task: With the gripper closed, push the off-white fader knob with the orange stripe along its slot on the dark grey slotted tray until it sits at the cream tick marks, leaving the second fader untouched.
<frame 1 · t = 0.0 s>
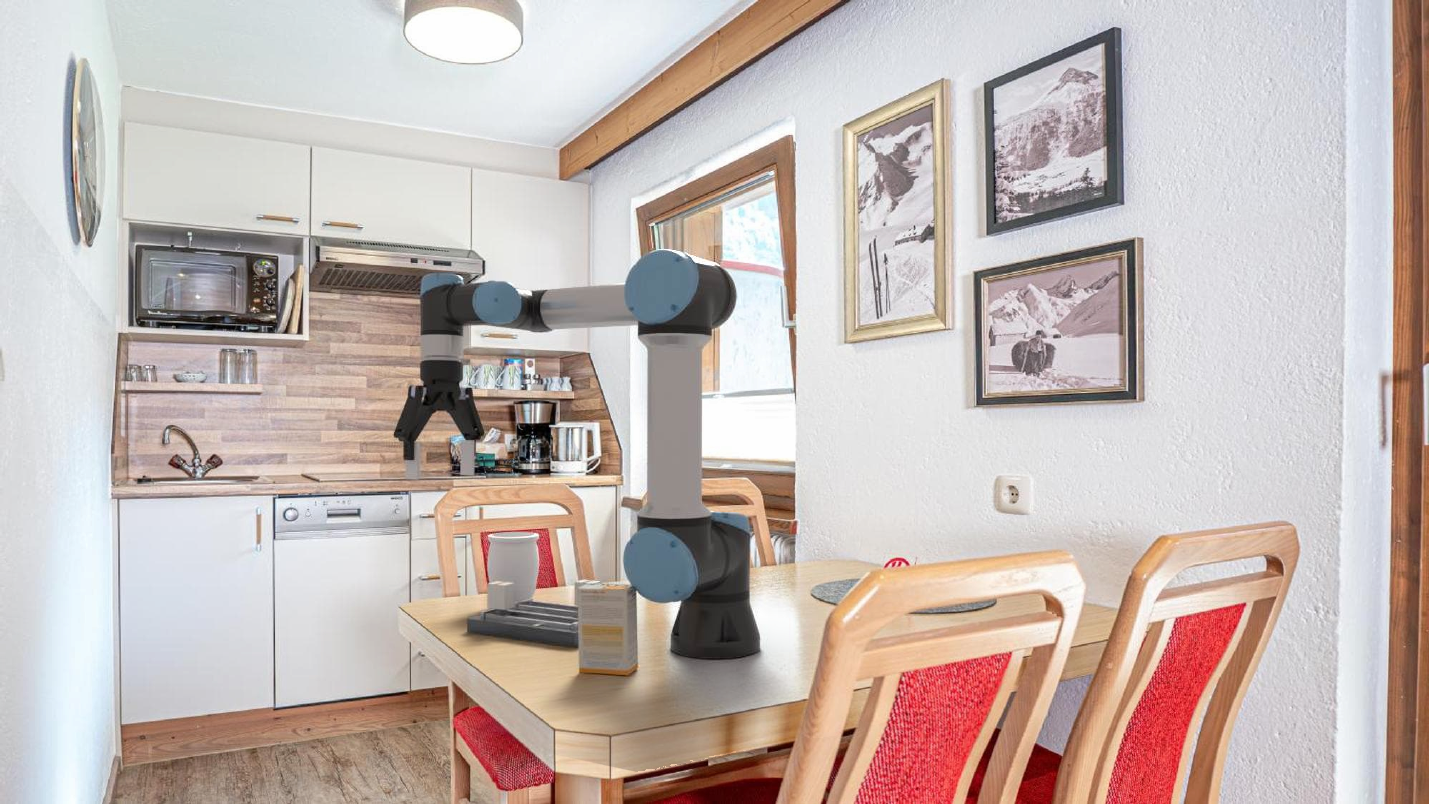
hand: (440, 477, 169), 28 cm above the table, fingers open, 13 cm apart
fader B: (588, 596, 173), point 6 cm above the table, slide at 0.0 cm
supplement box: (608, 672, 143), on the table, touching arm
dark grey slotted tray: (551, 629, 171), on the table
fader A: (500, 598, 171), point 6 cm above the table, slide at 0.0 cm
jar: (513, 609, 190), on the table
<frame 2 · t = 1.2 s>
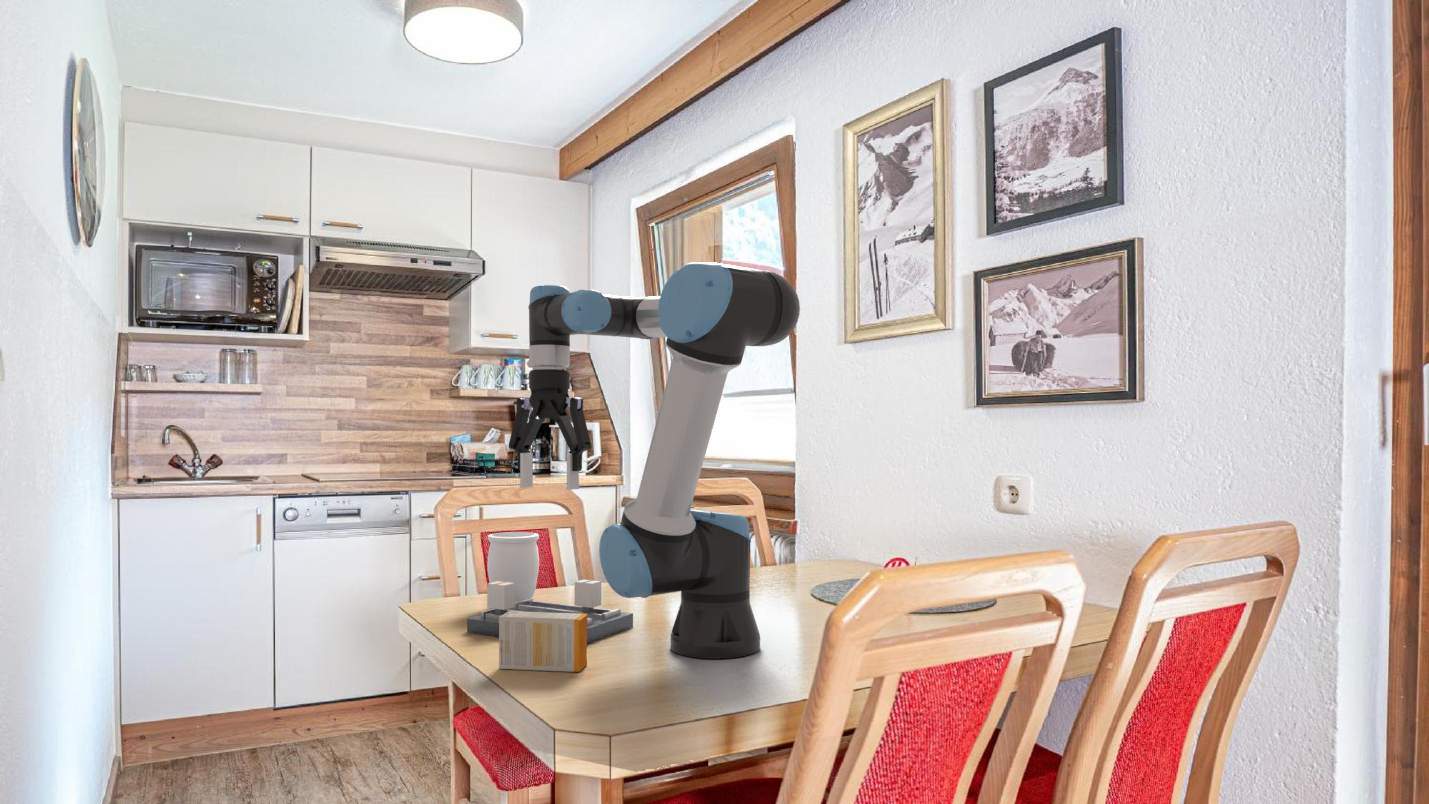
hand: (549, 488, 174), 26 cm above the table, fingers open, 10 cm apart
supplement box: (585, 643, 144), point 4 cm above the table
everything else where it was.
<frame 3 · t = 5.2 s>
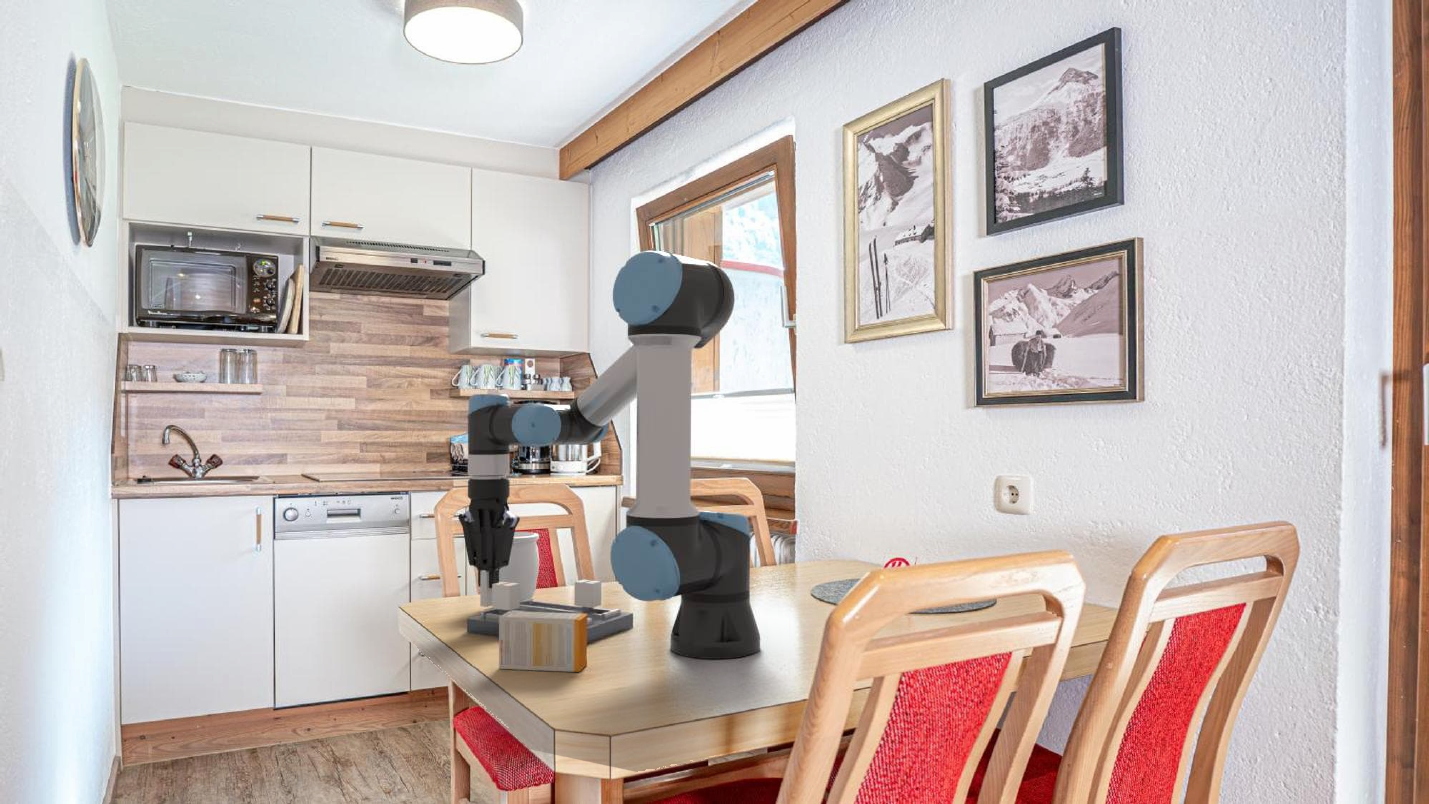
hand: (488, 605, 172), 4 cm above the table, fingers closed
fader A: (505, 598, 170), point 6 cm above the table, slide at 1.2 cm, touching gripper
everything else where it was.
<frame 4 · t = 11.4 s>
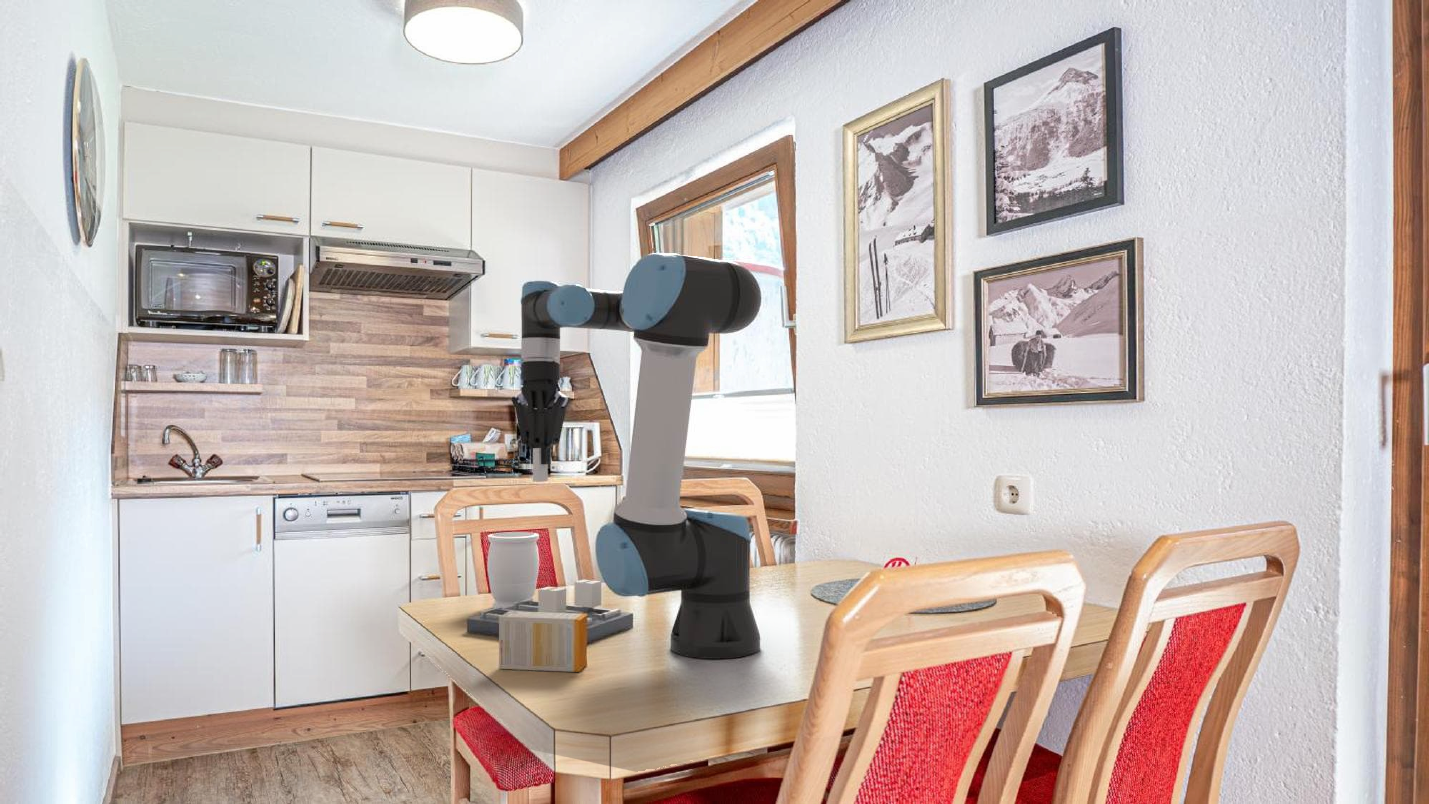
hand: (540, 481, 183), 26 cm above the table, fingers closed
fader A: (552, 604, 165), point 6 cm above the table, slide at 11.7 cm
everything else where it was.
at the end: fader A slide at 11.7 cm; fader B slide at 0.0 cm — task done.
